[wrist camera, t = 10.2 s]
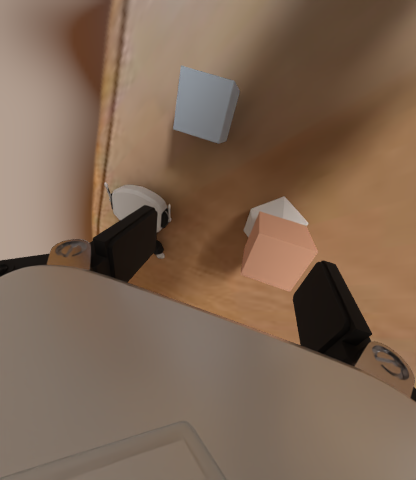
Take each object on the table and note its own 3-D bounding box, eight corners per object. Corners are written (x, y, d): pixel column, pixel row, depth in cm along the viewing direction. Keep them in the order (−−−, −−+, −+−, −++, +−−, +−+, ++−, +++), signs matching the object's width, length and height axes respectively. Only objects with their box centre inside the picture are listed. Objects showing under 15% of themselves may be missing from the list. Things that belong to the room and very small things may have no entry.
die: (239, 228, 35) (260, 274, 29) (234, 196, 28) (260, 248, 22) (281, 213, 34) (310, 256, 29) (286, 176, 27) (326, 224, 22)
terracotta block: (259, 211, 24) (259, 232, 19) (305, 225, 23) (318, 251, 18) (244, 247, 27) (240, 274, 22) (284, 261, 26) (289, 291, 21)
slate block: (197, 78, 25) (181, 65, 20) (240, 91, 24) (234, 81, 19) (189, 129, 28) (173, 129, 23) (226, 141, 27) (218, 143, 22)
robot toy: (171, 253, 42) (179, 193, 33) (162, 266, 39) (168, 203, 30) (123, 235, 43) (118, 173, 34) (110, 246, 40) (100, 180, 31)
